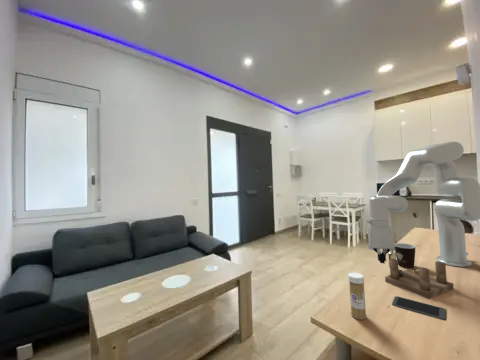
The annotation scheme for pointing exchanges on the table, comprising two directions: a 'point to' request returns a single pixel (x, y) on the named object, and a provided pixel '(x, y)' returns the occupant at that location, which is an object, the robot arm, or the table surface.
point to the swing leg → (393, 256)
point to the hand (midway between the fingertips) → (382, 262)
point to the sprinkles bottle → (357, 295)
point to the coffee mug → (405, 255)
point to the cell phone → (420, 307)
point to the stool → (420, 280)
